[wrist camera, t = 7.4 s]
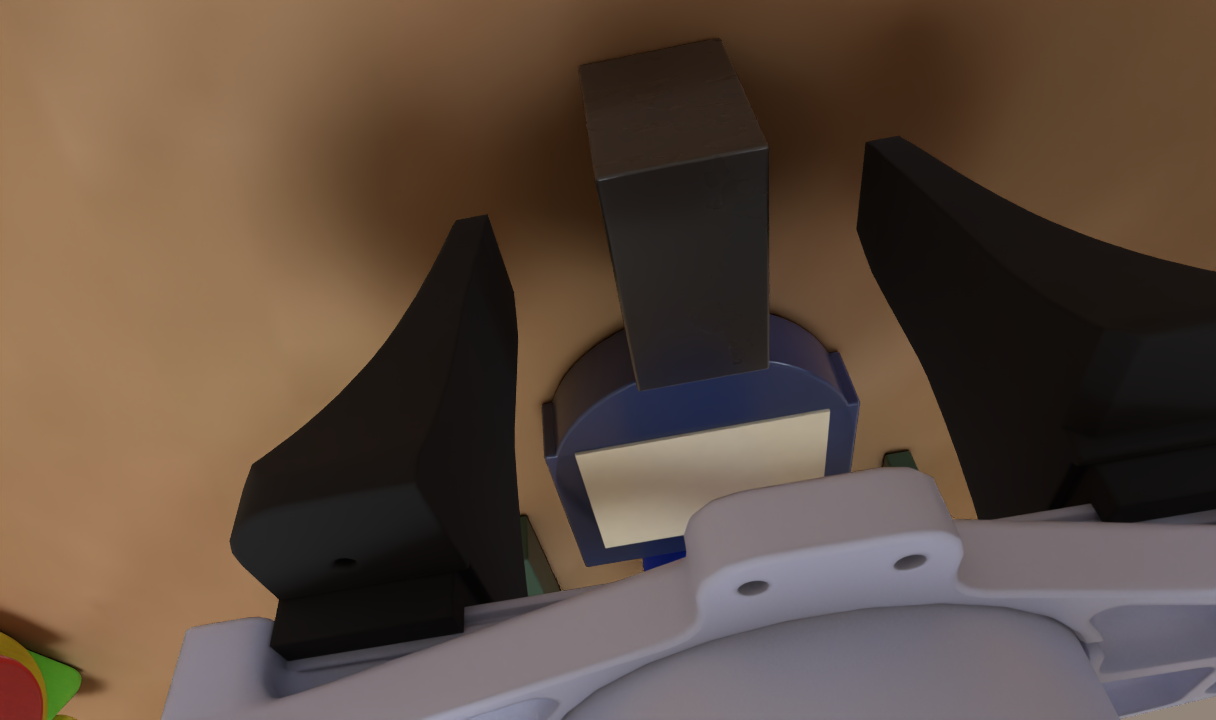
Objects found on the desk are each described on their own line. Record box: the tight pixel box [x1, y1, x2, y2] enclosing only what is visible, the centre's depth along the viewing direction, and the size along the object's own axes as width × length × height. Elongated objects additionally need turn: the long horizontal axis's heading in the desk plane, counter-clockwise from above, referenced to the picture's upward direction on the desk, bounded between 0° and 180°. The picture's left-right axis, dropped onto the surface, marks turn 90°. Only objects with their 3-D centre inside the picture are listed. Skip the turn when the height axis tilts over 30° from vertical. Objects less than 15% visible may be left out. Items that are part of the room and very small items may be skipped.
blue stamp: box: [542, 38, 860, 567], centre depth 18 cm, size 15×8×4 cm, turn 9°
